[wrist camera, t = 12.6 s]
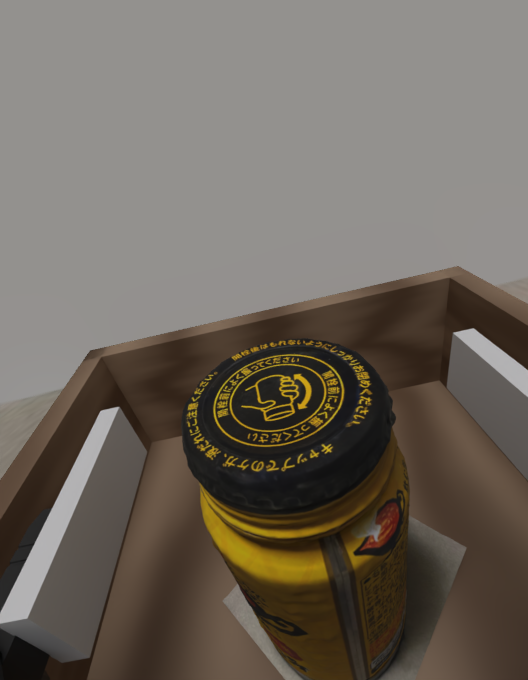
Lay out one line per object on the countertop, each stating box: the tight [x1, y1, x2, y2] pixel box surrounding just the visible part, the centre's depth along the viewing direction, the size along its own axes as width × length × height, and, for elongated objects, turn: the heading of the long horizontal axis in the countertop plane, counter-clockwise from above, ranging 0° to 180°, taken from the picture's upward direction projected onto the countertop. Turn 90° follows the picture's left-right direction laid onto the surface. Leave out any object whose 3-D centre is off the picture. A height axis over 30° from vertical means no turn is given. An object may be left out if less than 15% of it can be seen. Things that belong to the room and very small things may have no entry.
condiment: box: [181, 338, 467, 680], centre depth 11 cm, size 7×8×12 cm
